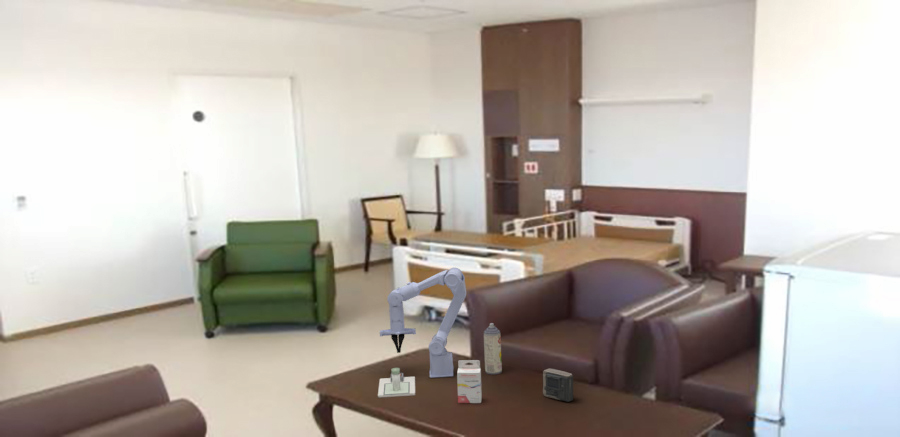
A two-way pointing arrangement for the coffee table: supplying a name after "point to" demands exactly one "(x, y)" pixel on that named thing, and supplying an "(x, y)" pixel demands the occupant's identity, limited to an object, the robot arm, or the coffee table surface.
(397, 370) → the marker
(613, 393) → the coffee table surface
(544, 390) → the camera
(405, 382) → the activity board
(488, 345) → the aerosol can
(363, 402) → the coffee table surface
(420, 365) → the coffee table surface
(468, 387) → the ink cartridge box
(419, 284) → the robot arm
